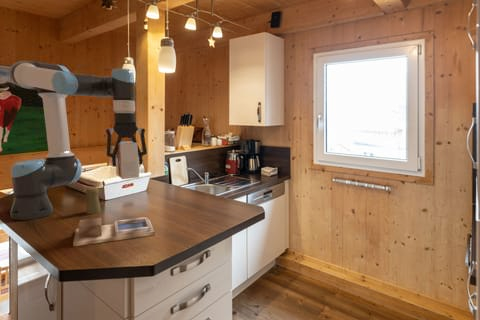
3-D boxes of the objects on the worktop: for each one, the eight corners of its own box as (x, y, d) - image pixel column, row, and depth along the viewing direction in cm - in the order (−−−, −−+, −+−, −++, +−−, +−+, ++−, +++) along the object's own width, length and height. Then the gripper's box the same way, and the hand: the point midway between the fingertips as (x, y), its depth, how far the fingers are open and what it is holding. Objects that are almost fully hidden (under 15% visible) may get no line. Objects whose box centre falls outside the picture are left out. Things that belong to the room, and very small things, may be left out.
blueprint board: (73, 246, 102) (72, 231, 101) (76, 231, 115) (75, 218, 114) (154, 234, 112) (154, 221, 111) (149, 222, 125) (149, 210, 124)
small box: (117, 175, 119) (115, 141, 118) (134, 174, 123) (132, 141, 121) (121, 179, 112) (119, 143, 111) (139, 177, 116) (137, 142, 114)
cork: (97, 209, 142) (95, 185, 140) (103, 211, 138) (102, 187, 136) (83, 212, 137) (81, 187, 135) (90, 215, 133) (88, 190, 132)
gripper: (95, 112, 107) (99, 178, 110) (153, 112, 115) (156, 173, 118) (95, 112, 114) (99, 174, 117) (150, 112, 122) (153, 170, 125)
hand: (128, 174), depth 117 cm, fingers closed on small box, 7 cm apart
